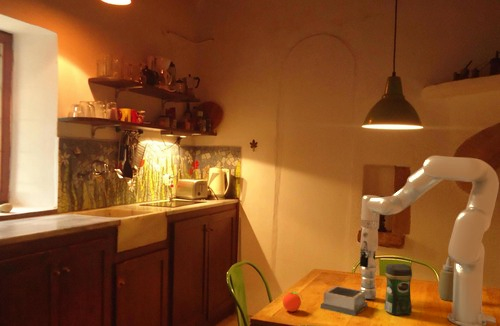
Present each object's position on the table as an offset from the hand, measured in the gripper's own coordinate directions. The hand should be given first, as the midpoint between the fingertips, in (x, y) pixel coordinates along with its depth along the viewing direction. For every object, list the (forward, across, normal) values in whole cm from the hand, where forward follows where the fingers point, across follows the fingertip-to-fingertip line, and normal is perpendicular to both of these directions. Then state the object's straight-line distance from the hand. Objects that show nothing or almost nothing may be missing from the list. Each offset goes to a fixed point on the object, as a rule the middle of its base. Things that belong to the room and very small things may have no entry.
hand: (367, 264), depth 180 cm
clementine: (+15, -34, +17) cm, 41 cm away
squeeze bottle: (+14, +22, -29) cm, 39 cm away
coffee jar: (+14, -10, -16) cm, 23 cm away
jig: (+14, -17, +3) cm, 23 cm away
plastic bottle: (+15, 0, -1) cm, 15 cm away
